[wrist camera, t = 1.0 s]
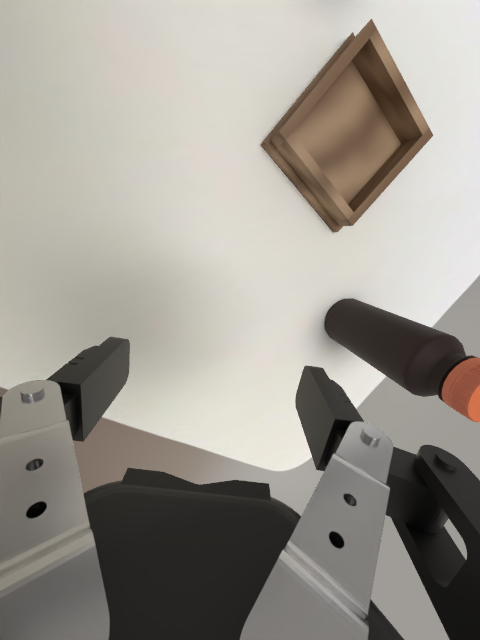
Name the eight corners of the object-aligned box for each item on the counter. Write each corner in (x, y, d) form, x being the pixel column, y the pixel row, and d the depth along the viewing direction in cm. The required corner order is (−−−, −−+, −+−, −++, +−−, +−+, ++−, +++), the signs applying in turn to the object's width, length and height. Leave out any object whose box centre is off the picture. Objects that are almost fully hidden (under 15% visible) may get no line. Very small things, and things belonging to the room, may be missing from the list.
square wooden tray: (260, 144, 29) (272, 131, 25) (346, 39, 28) (372, 8, 24) (333, 232, 34) (352, 231, 30) (409, 146, 33) (438, 135, 29)
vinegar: (315, 330, 38) (441, 420, 20) (339, 290, 37) (498, 345, 19) (348, 346, 41) (489, 440, 22) (372, 309, 39) (542, 375, 21)
